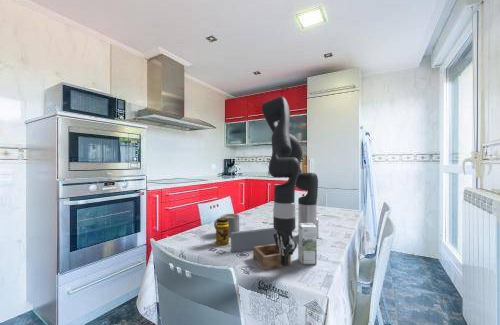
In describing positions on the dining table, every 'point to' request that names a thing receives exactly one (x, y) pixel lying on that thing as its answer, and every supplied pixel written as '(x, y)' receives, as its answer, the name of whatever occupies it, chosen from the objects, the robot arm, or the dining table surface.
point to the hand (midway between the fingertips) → (284, 265)
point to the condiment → (222, 233)
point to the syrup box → (307, 243)
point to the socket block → (268, 256)
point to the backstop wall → (251, 239)
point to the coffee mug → (231, 222)
